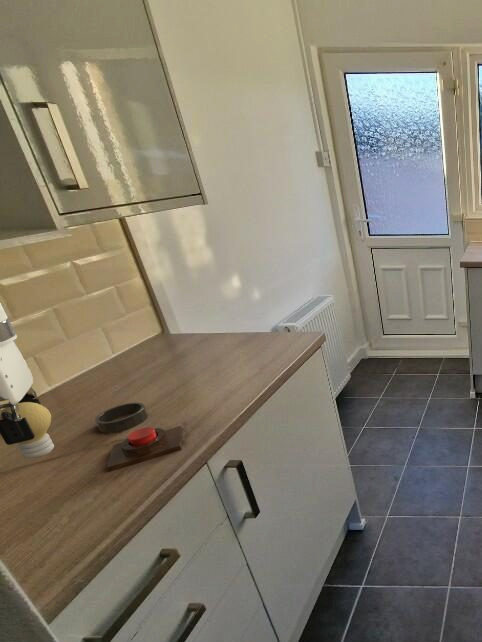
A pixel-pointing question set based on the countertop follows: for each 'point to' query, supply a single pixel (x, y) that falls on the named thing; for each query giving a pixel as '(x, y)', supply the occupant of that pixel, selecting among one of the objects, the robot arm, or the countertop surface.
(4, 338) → the robot arm
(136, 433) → the switch button
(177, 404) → the countertop surface
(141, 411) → the socket
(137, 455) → the switch block
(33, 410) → the light bulb
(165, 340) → the countertop surface
